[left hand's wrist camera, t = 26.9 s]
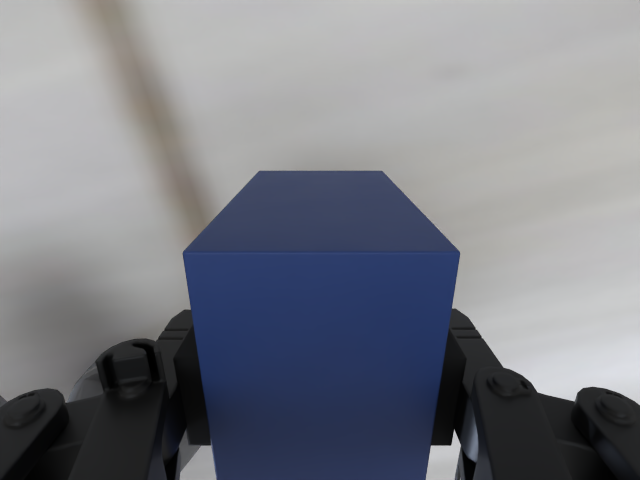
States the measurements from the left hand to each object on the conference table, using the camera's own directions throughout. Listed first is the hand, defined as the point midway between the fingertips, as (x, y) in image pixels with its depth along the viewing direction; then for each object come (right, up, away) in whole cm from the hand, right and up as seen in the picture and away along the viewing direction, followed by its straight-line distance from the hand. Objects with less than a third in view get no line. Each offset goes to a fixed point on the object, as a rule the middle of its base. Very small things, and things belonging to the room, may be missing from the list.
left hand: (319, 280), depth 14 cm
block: (0, +1, +2) cm, 2 cm away
